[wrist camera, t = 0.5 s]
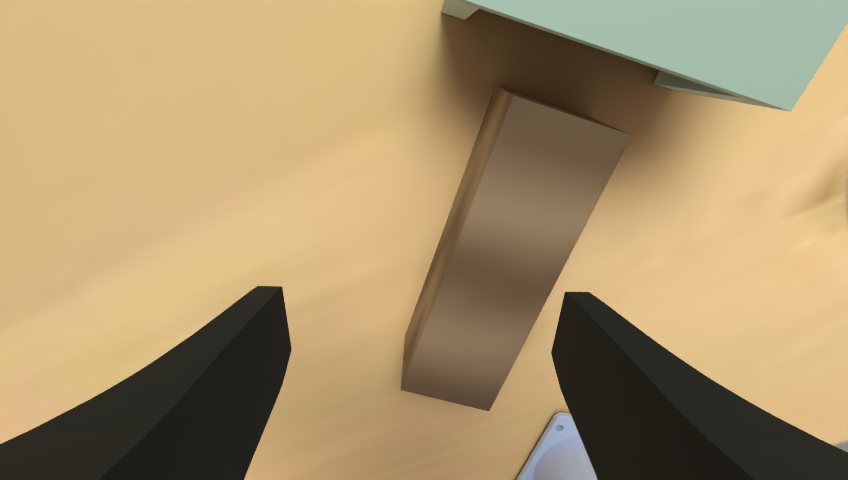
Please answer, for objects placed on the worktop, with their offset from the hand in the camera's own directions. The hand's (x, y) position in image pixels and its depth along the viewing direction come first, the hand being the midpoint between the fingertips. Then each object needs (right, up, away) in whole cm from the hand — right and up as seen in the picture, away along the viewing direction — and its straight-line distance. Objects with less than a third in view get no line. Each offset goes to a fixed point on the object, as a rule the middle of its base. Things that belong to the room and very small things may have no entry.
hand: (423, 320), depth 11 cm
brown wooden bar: (+3, +2, +11) cm, 11 cm away
